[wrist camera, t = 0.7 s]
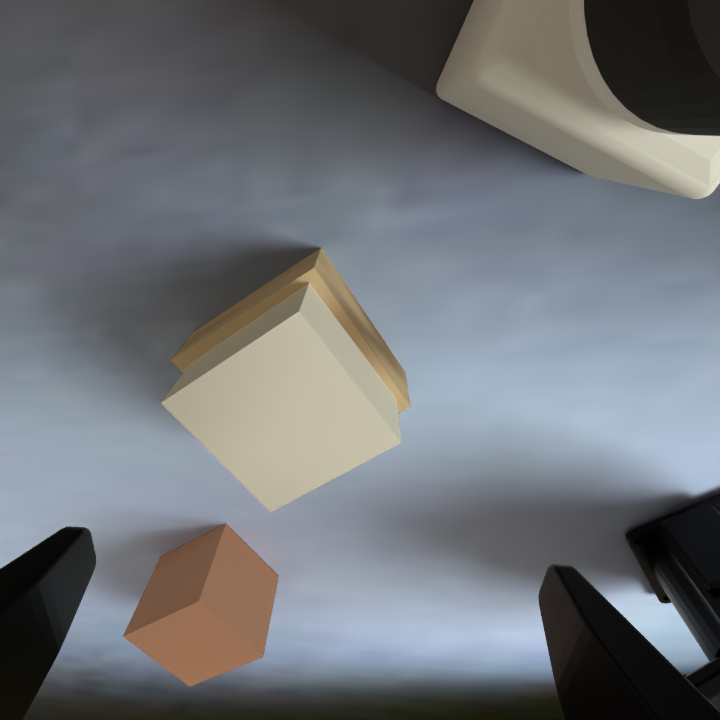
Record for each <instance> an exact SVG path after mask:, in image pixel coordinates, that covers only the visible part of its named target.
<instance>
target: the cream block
mask: <svg viewBox="0 0 720 720" xmlns="http://www.w3.org/2000/svg"><path fill="white" fill-rule="evenodd" d="M161 404H162V405H163V406H164V407H165V408H166V409H167V410H168V411H169V412H170V413H171V414H172V415H173V416H174V417H175V418H176V419H177V420H178V421H179V422H180V423H181V424H182V425H183V426H184V427H185V428H186V429H187V430H188V431H189V432H190V433H191V434H192V435H193V436H194V437H195V438H196V439H197V440H198V441H199V442H200V443H201V444H202V445H203V446H204V447H205V448H206V449H207V450H208V451H209V452H210V453H211V454H212V455H213V456H214V457H215V458H216V459H217V460H218V461H219V462H220V463H221V464H222V465H223V466H224V467H225V468H226V469H227V470H228V471H229V472H230V473H231V474H232V475H233V476H234V477H235V478H236V479H237V480H238V481H239V482H240V483H241V484H242V485H243V486H244V487H245V488H246V489H247V490H248V491H249V492H250V493H251V494H252V495H253V496H254V497H255V498H256V499H257V500H258V501H259V502H260V503H261V504H262V505H263V506H264V507H265V508H266V509H267V510H268V511H269V512H270V513H271V512H273V511H275V510H277V509H278V508H280V507H282V506H284V505H286V504H288V503H290V502H291V501H293V500H295V499H297V498H299V497H301V496H303V495H305V494H306V493H308V492H310V491H312V490H314V489H316V488H318V487H319V486H321V485H323V484H325V483H327V482H329V481H331V480H333V479H334V478H336V477H338V476H340V475H342V474H344V473H346V472H347V471H349V470H351V469H353V468H355V467H357V466H359V465H361V464H362V463H364V462H366V461H368V460H370V459H372V458H374V457H375V456H377V455H379V454H381V453H383V452H385V451H387V450H389V449H390V448H392V447H394V446H396V445H398V444H400V443H401V434H400V425H399V416H398V407H397V399H396V398H395V396H394V395H393V394H392V392H391V391H390V390H389V388H388V387H387V386H386V384H385V383H384V382H383V380H382V379H381V378H380V376H379V375H378V374H377V372H376V371H375V370H374V368H373V367H372V366H371V364H370V363H369V362H368V360H367V359H366V358H365V356H364V355H363V354H362V352H361V351H360V350H359V348H358V347H357V346H356V344H355V343H354V342H353V340H352V339H351V338H350V336H349V335H348V334H347V332H346V331H345V330H344V328H343V327H342V325H341V324H340V323H339V321H338V320H337V319H336V317H335V316H334V315H333V313H332V312H331V311H330V309H329V308H328V307H327V305H326V304H325V303H324V301H323V300H322V299H321V297H320V296H319V295H318V293H317V292H316V291H315V289H314V288H313V287H312V285H311V284H310V283H308V284H307V285H305V286H304V287H302V288H301V289H299V290H298V291H296V292H295V293H293V294H292V295H290V296H289V297H287V298H286V299H284V300H283V301H281V302H280V303H279V304H277V305H276V306H274V307H273V308H271V309H270V310H268V311H267V312H265V313H264V314H262V315H261V316H259V317H258V318H256V319H255V320H253V321H252V322H251V323H249V324H248V325H246V326H245V327H243V328H242V329H240V330H239V331H237V332H236V333H234V334H233V335H231V336H230V337H228V338H227V339H225V340H224V341H223V342H221V343H220V344H218V345H217V346H215V347H214V348H212V349H211V350H209V351H208V352H206V353H205V354H203V355H202V356H200V357H199V358H197V359H196V360H195V361H193V362H192V363H190V364H189V365H188V367H187V368H186V369H185V371H184V372H183V373H182V375H181V376H180V378H179V379H178V380H177V382H176V383H175V384H174V386H173V387H172V388H171V390H170V391H169V392H168V394H167V395H166V396H165V398H164V399H163V401H162V402H161Z"/></svg>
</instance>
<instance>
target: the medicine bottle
mask: <svg viewBox="0 0 720 720" xmlns="http://www.w3.org/2000/svg"><path fill="white" fill-rule="evenodd" d="M436 92H437V96H438V97H440V98H441V99H442V100H444V101H446V102H448V103H450V104H452V105H453V106H455V107H457V108H459V109H461V110H463V111H465V112H467V113H469V114H471V115H473V116H475V117H477V118H479V119H480V120H482V121H484V122H486V123H488V124H490V125H492V126H494V127H496V128H498V129H500V130H502V131H504V132H506V133H508V134H509V135H511V136H513V137H515V138H517V139H519V140H521V141H523V142H525V143H527V144H529V145H531V146H533V147H535V148H536V149H538V150H540V151H542V152H544V153H546V154H548V155H550V156H552V157H554V158H556V159H558V160H560V161H562V162H564V163H565V164H567V165H569V166H571V167H573V168H575V169H577V170H579V171H581V172H583V173H585V174H587V175H589V176H594V177H598V178H602V179H607V180H611V181H616V182H620V183H625V184H629V185H634V186H638V187H642V188H647V189H651V190H656V191H660V192H665V193H669V194H674V195H678V196H682V197H687V198H692V199H701V198H704V197H707V196H709V195H710V194H711V193H712V192H713V191H714V190H715V189H716V187H717V186H718V184H719V183H720V0H474V1H473V3H472V6H471V8H470V10H469V12H468V15H467V17H466V19H465V21H464V24H463V26H462V28H461V30H460V33H459V35H458V37H457V39H456V42H455V44H454V46H453V48H452V51H451V53H450V55H449V57H448V60H447V62H446V64H445V66H444V69H443V71H442V73H441V75H440V78H439V80H438V82H437V86H436Z"/></svg>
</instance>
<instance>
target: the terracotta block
mask: <svg viewBox="0 0 720 720" xmlns="http://www.w3.org/2000/svg"><path fill="white" fill-rule="evenodd" d="M278 577H279V575H278V574H277V573H276V572H275V571H274V570H273V569H272V568H271V567H270V566H269V565H268V564H267V563H266V562H265V561H264V560H263V559H262V558H261V557H260V556H259V555H258V554H257V553H256V552H255V551H254V550H253V549H252V548H251V547H249V546H248V545H247V544H246V543H245V542H244V541H243V540H242V539H241V538H240V537H239V536H238V535H237V534H236V533H235V532H234V531H233V530H232V529H231V528H230V527H229V526H228V525H227V524H224V525H222V526H220V527H218V528H216V529H214V530H212V531H210V532H208V533H206V534H204V535H202V536H200V537H198V538H196V539H194V540H192V541H190V542H188V543H186V544H184V545H182V546H181V547H179V548H177V549H175V550H173V551H171V552H169V553H167V554H165V555H163V556H161V557H160V559H159V561H158V564H157V566H156V568H155V570H154V572H153V574H152V576H151V578H150V580H149V583H148V585H147V587H146V589H145V591H144V593H143V595H142V597H141V599H140V602H139V604H138V606H137V608H136V610H135V612H134V614H133V616H132V618H131V621H130V623H129V625H128V627H127V629H126V631H125V633H124V635H123V637H125V638H126V639H127V640H129V641H130V642H131V643H133V644H134V645H135V646H136V647H138V648H139V649H140V650H142V651H143V652H144V653H146V654H147V655H148V656H150V657H151V658H152V659H154V660H155V661H156V662H158V663H159V664H160V665H162V666H163V667H164V668H166V669H167V670H168V671H170V672H171V673H172V674H174V675H175V676H176V677H178V678H179V679H180V680H182V681H183V682H184V683H186V684H187V685H188V686H189V687H190V686H192V685H195V684H197V683H200V682H202V681H205V680H207V679H210V678H212V677H215V676H217V675H220V674H222V673H225V672H227V671H229V670H232V669H234V668H237V667H239V666H242V665H244V664H247V663H249V662H252V661H254V660H257V659H259V658H262V657H263V655H264V650H265V644H266V639H267V634H268V629H269V624H270V619H271V613H272V608H273V603H274V598H275V593H276V587H277V582H278Z"/></svg>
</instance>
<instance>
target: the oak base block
mask: <svg viewBox="0 0 720 720" xmlns="http://www.w3.org/2000/svg"><path fill="white" fill-rule="evenodd" d="M308 283H310V284H311V285H312V287H313V288H314V289H315V291H316V292H317V293H318V295H319V296H320V297H321V299H322V300H323V301H324V303H325V304H326V305H327V307H328V308H329V309H330V311H331V312H332V313H333V315H334V316H335V317H336V319H337V320H338V321H339V323H340V324H341V325H342V327H343V328H344V330H345V331H346V332H347V334H348V335H349V336H350V338H351V339H352V340H353V342H354V343H355V344H356V346H357V347H358V348H359V350H360V351H361V352H362V354H363V355H364V356H365V358H366V359H367V360H368V362H369V363H370V364H371V366H372V367H373V368H374V370H375V371H376V372H377V374H378V375H379V376H380V378H381V379H382V380H383V382H384V383H385V384H386V386H387V387H388V388H389V390H390V391H391V392H392V394H393V395H394V396H395V398H396V399H397V407H398V413H400V412H402V411H404V410H406V409H407V408H409V407H411V406H410V400H409V393H408V387H407V381H406V375H405V371H404V370H403V368H402V367H401V365H400V364H399V362H398V361H397V359H396V358H395V356H394V355H393V353H392V352H391V350H390V349H389V347H388V346H387V344H386V343H385V341H384V340H383V338H382V337H381V335H380V334H379V333H378V331H377V330H376V328H375V327H374V325H373V324H372V322H371V321H370V319H369V318H368V316H367V315H366V313H365V312H364V310H363V309H362V307H361V306H360V304H359V303H358V301H357V300H356V298H355V297H354V295H353V294H352V292H351V291H350V289H349V288H348V286H347V285H346V284H345V282H344V281H343V279H342V278H341V276H340V275H339V273H338V272H337V270H336V269H335V267H334V266H333V264H332V263H331V261H330V260H329V258H328V257H327V255H326V254H325V252H324V251H323V249H322V248H320V249H319V250H317V251H316V252H314V253H312V254H311V255H309V256H308V257H306V258H305V259H303V260H302V261H300V262H299V263H297V264H296V265H294V266H293V267H291V268H290V269H288V270H286V271H285V272H283V273H282V274H280V275H279V276H277V277H276V278H274V279H273V280H271V281H270V282H268V283H267V284H265V285H264V286H262V287H260V288H259V289H257V290H256V291H254V292H253V293H251V294H250V295H248V296H247V297H245V298H244V299H242V300H241V301H239V302H238V303H236V304H234V305H233V306H231V307H230V308H228V309H227V310H225V311H224V312H222V313H221V314H219V315H218V316H216V317H215V318H213V319H212V320H210V321H208V322H207V323H205V324H204V325H202V326H201V327H199V328H198V329H196V330H195V331H194V332H193V334H192V335H191V336H190V337H189V338H188V340H187V341H186V342H185V343H184V344H183V346H182V347H181V348H180V349H179V350H178V352H177V353H176V354H175V355H174V356H173V358H172V359H171V361H172V362H173V363H174V364H175V365H176V367H177V368H178V369H179V370H180V371H181V372H182V373H183V372H184V371H185V369H186V368H187V367H188V365H189V364H190V363H192V362H193V361H195V360H196V359H197V358H199V357H200V356H202V355H203V354H205V353H206V352H208V351H209V350H211V349H212V348H214V347H215V346H217V345H218V344H220V343H221V342H223V341H224V340H225V339H227V338H228V337H230V336H231V335H233V334H234V333H236V332H237V331H239V330H240V329H242V328H243V327H245V326H246V325H248V324H249V323H251V322H252V321H253V320H255V319H256V318H258V317H259V316H261V315H262V314H264V313H265V312H267V311H268V310H270V309H271V308H273V307H274V306H276V305H277V304H279V303H280V302H281V301H283V300H284V299H286V298H287V297H289V296H290V295H292V294H293V293H295V292H296V291H298V290H299V289H301V288H302V287H304V286H305V285H307V284H308Z"/></svg>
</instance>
